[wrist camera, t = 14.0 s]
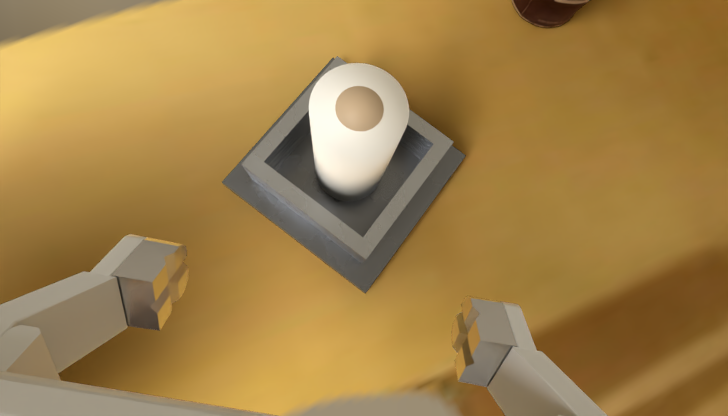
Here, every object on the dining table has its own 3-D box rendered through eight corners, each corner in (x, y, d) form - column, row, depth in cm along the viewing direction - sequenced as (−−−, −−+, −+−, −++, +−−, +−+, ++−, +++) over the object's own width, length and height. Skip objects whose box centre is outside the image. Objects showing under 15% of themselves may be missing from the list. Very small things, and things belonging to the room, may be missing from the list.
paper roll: (343, 124, 30) (351, 44, 20) (395, 164, 29) (428, 103, 20) (301, 173, 29) (287, 113, 19) (354, 214, 28) (368, 176, 19)
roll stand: (332, 66, 32) (333, 28, 27) (460, 160, 31) (483, 138, 27) (225, 186, 29) (206, 167, 25) (364, 292, 28) (370, 294, 24)
